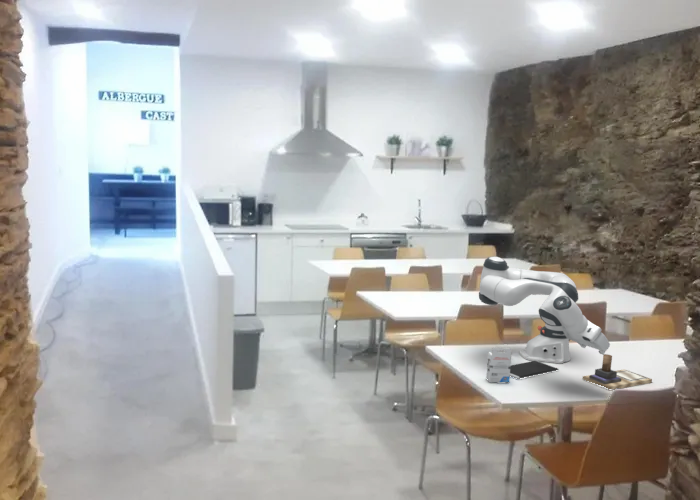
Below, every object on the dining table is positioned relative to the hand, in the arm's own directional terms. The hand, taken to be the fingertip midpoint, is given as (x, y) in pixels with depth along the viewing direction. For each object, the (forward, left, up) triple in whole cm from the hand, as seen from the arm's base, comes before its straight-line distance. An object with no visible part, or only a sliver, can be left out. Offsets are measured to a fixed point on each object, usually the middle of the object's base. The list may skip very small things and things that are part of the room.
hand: (593, 349), depth 282 cm
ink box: (-37, +1, -16) cm, 41 cm away
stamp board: (+15, +9, -16) cm, 23 cm away
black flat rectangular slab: (-21, +17, -16) cm, 32 cm away
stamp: (+8, +5, -13) cm, 16 cm away
